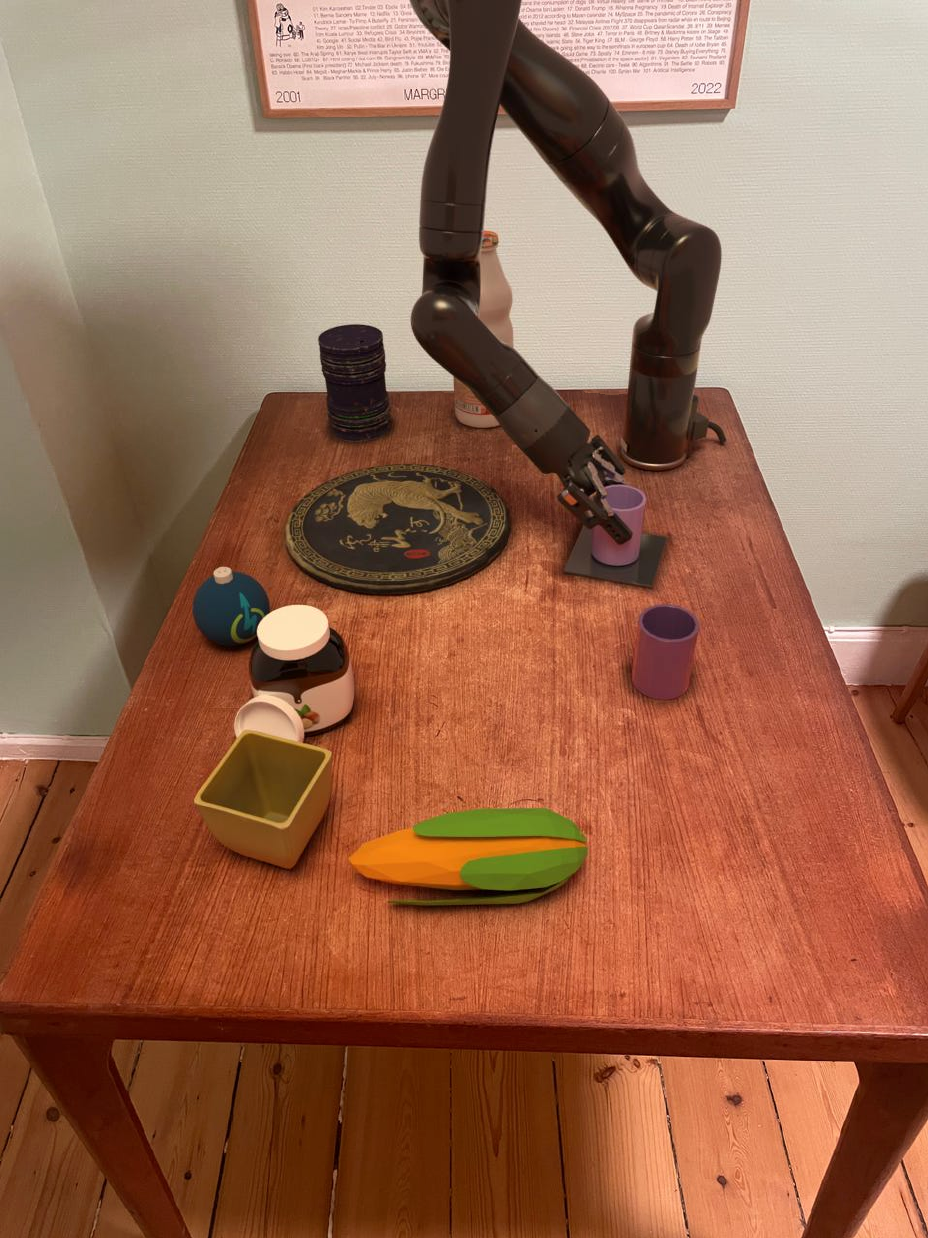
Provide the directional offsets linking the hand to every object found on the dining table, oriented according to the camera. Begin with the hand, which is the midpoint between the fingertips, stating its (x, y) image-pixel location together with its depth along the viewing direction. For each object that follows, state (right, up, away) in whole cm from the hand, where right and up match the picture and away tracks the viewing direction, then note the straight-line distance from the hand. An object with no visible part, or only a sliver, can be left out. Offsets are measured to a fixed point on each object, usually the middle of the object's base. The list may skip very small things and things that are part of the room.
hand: (632, 525), depth 109 cm
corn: (-20, -34, -33) cm, 52 cm away
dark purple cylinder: (-37, +19, +33) cm, 53 cm away
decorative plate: (-29, 0, +10) cm, 31 cm away
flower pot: (-37, -32, -29) cm, 57 cm away
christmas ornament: (-47, -14, -6) cm, 49 cm away
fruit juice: (-17, +21, +35) cm, 45 cm away
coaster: (-1, -4, +4) cm, 5 cm away
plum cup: (0, -18, -14) cm, 23 cm away
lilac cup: (-2, -3, +3) cm, 5 cm away
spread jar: (-37, -23, -18) cm, 47 cm away
